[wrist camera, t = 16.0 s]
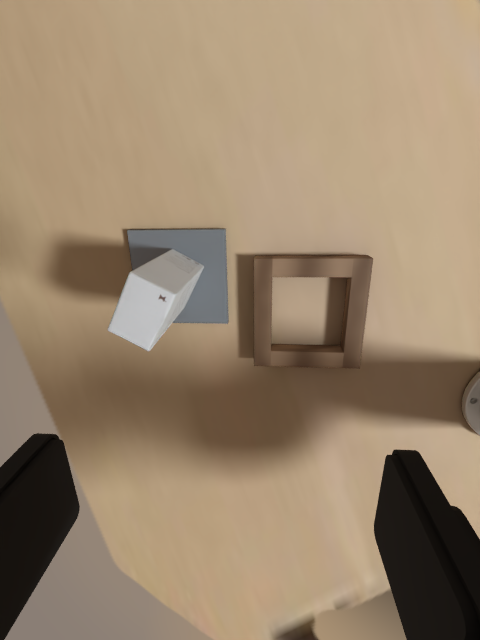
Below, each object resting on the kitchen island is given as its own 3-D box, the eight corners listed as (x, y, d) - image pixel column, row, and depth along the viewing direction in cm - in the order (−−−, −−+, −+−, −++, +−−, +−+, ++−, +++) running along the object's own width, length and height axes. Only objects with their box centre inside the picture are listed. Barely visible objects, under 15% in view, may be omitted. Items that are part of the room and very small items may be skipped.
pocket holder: (367, 255, 36) (373, 258, 34) (355, 360, 41) (359, 368, 39) (254, 255, 37) (253, 258, 35) (254, 358, 42) (254, 365, 40)
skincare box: (171, 247, 37) (129, 269, 26) (205, 265, 37) (178, 294, 26) (151, 293, 39) (104, 331, 28) (184, 309, 39) (150, 353, 28)
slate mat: (225, 228, 37) (224, 229, 36) (228, 321, 40) (227, 323, 40) (130, 229, 37) (127, 230, 37) (141, 320, 41) (139, 322, 41)
